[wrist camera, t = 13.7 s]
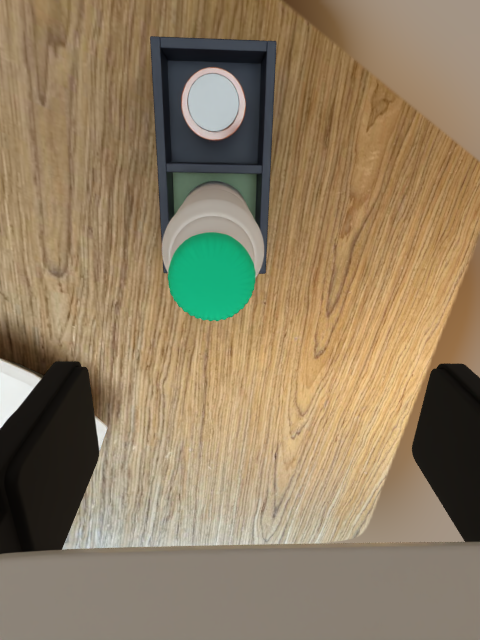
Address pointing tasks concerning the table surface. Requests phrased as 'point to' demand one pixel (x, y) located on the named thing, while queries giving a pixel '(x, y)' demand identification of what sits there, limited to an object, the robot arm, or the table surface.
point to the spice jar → (213, 104)
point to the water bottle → (212, 252)
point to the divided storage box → (205, 157)
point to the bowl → (25, 392)
